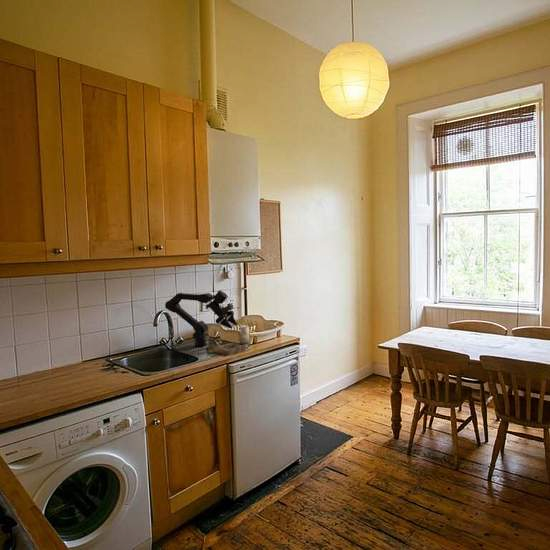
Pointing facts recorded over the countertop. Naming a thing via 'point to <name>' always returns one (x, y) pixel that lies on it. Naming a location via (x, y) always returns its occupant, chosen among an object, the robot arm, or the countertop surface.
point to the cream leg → (244, 335)
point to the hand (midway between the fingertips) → (234, 326)
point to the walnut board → (229, 348)
